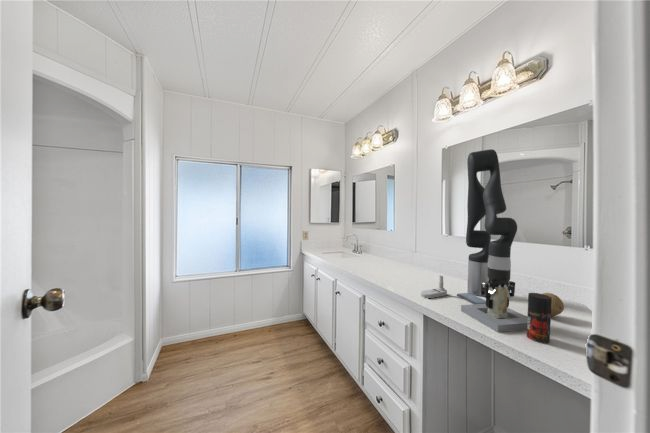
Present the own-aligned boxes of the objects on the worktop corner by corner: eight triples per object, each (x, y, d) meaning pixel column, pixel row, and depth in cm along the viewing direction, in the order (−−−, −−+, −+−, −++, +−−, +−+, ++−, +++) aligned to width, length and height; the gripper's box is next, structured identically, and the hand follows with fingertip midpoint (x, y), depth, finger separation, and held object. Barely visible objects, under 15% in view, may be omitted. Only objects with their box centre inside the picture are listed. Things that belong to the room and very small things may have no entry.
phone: (468, 294, 124) (469, 292, 124) (490, 305, 111) (490, 302, 111) (456, 295, 123) (457, 293, 123) (477, 305, 110) (477, 303, 110)
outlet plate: (496, 308, 108) (496, 302, 108) (538, 328, 90) (538, 321, 90) (461, 310, 105) (461, 305, 104) (497, 332, 87) (497, 325, 87)
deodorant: (522, 334, 85) (523, 292, 85) (537, 333, 86) (539, 292, 85) (538, 343, 80) (540, 299, 79) (554, 343, 80) (556, 298, 80)
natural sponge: (566, 324, 93) (568, 299, 93) (536, 318, 98) (537, 294, 98) (559, 315, 101) (560, 292, 101) (532, 310, 106) (533, 288, 105)
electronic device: (418, 277, 122) (441, 274, 127) (418, 296, 123) (440, 292, 128) (426, 280, 117) (449, 277, 122) (426, 300, 118) (449, 295, 123)
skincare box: (498, 319, 94) (499, 288, 93) (486, 314, 98) (488, 285, 97) (507, 316, 97) (508, 286, 96) (495, 311, 101) (496, 283, 100)
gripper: (505, 264, 102) (503, 302, 102) (475, 265, 99) (474, 304, 100) (523, 268, 94) (521, 310, 95) (491, 270, 92) (490, 312, 92)
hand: (497, 307), depth 97 cm, fingers closed on skincare box, 7 cm apart
